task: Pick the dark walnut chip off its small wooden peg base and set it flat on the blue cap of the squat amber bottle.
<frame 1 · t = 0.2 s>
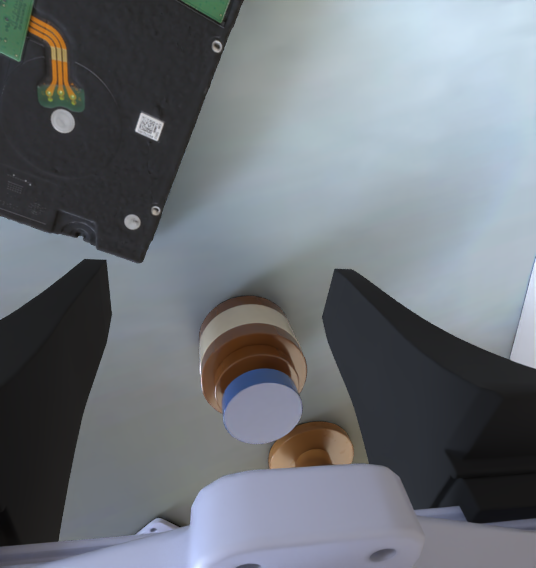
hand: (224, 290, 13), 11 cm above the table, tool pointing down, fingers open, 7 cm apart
disk drive: (92, 70, 19), on the table
wooden peg base: (309, 453, 32), on the table
bottle: (245, 336, 26), on the table
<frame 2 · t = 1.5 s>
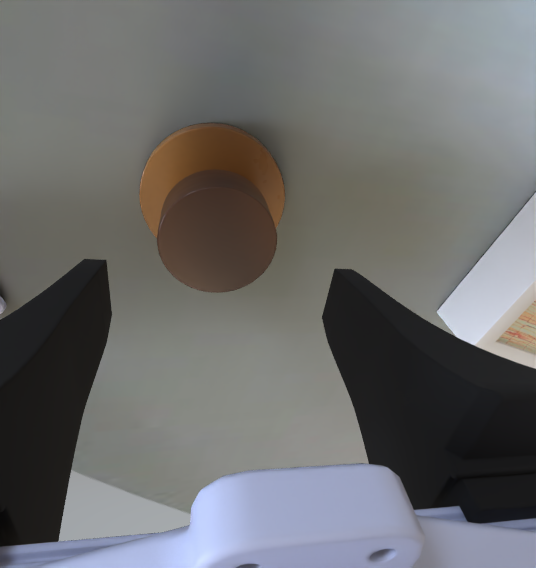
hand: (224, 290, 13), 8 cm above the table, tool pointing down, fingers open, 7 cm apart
chip: (216, 222, 17), point 3 cm above the table, touching wooden peg base
wooden peg base: (213, 195, 20), on the table
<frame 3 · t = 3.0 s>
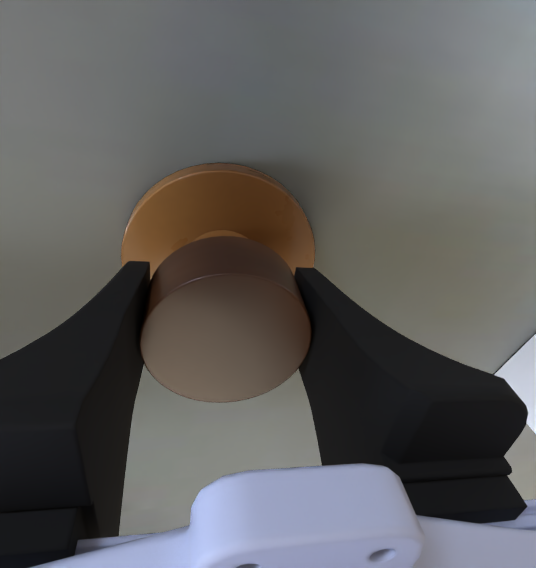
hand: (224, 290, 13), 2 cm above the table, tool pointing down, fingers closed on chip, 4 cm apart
chip: (224, 301, 12), point 3 cm above the table, touching wooden peg base, gripper
wooden peg base: (220, 253, 15), on the table
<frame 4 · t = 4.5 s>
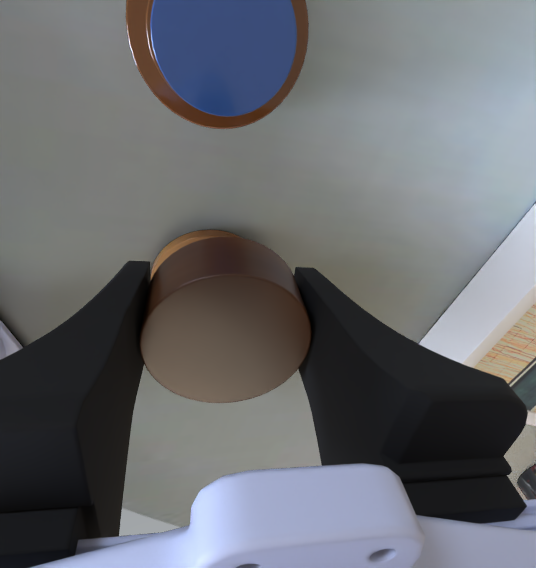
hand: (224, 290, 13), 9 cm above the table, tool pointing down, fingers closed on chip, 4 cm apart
chip: (224, 302, 12), point 10 cm above the table, touching gripper
wooden peg base: (210, 281, 24), on the table
bottle: (215, 30, 17), on the table
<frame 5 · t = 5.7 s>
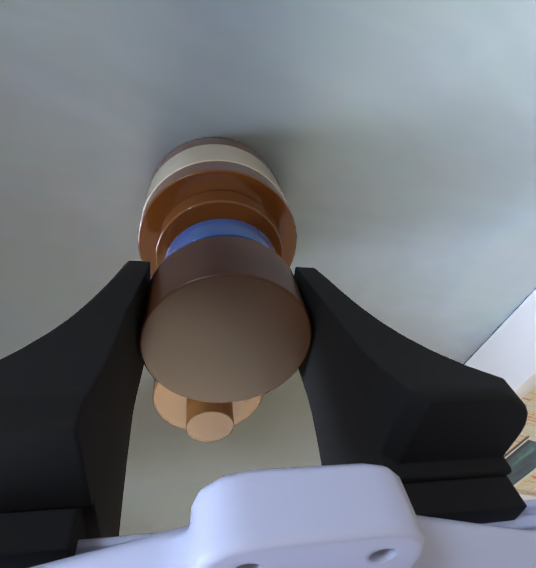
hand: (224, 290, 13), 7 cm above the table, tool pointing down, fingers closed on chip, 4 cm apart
chip: (224, 302, 12), point 8 cm above the table, touching gripper
wooden peg base: (208, 387, 26), on the table
bottle: (215, 202, 19), on the table
when the fingers open (7 cm above the table, at t = 6.4 s): chip stays where it is, resting on bottle.
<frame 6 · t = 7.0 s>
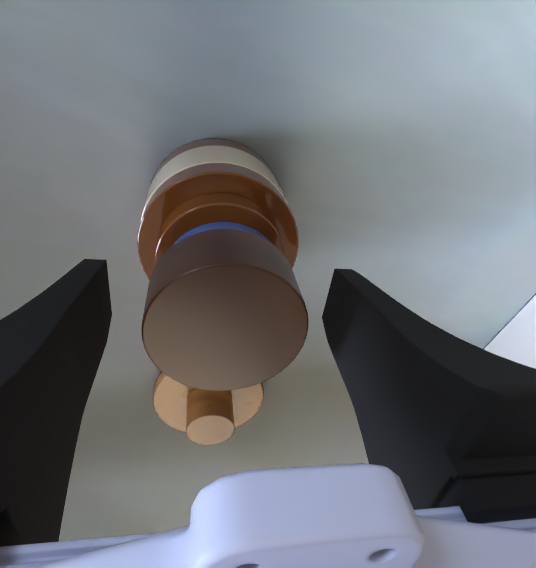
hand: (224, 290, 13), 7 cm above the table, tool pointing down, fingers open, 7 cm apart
chip: (223, 293, 13), point 7 cm above the table, touching bottle
wooden peg base: (209, 390, 26), on the table
bottle: (216, 204, 19), on the table, touching chip
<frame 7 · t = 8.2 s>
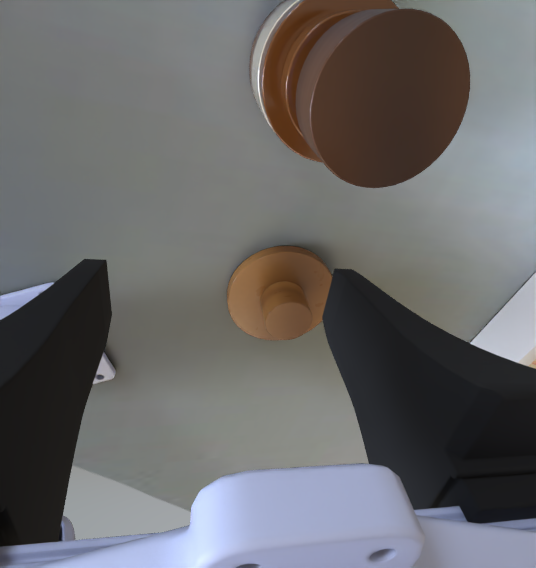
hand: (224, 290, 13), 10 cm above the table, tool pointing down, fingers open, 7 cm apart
chip: (365, 96, 13), point 7 cm above the table, touching bottle
wooden peg base: (280, 292, 26), on the table
bottle: (313, 70, 19), on the table, touching chip
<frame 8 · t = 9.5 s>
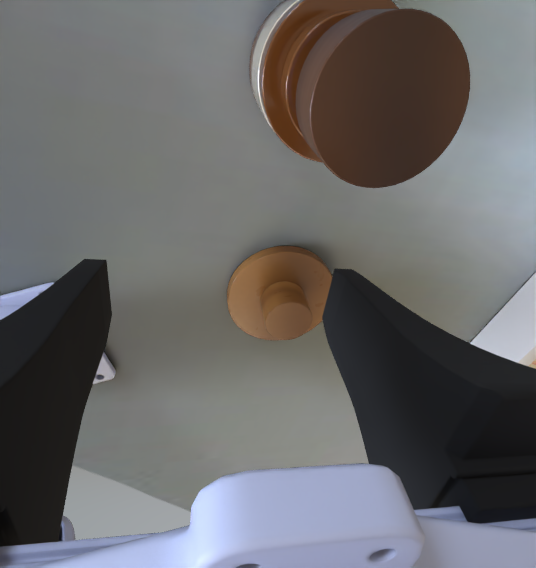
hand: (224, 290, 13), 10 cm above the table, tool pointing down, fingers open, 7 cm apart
chip: (365, 96, 13), point 7 cm above the table, touching bottle
wooden peg base: (280, 292, 26), on the table
bottle: (313, 70, 19), on the table, touching chip
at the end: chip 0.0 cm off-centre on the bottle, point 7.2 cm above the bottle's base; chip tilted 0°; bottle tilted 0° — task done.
